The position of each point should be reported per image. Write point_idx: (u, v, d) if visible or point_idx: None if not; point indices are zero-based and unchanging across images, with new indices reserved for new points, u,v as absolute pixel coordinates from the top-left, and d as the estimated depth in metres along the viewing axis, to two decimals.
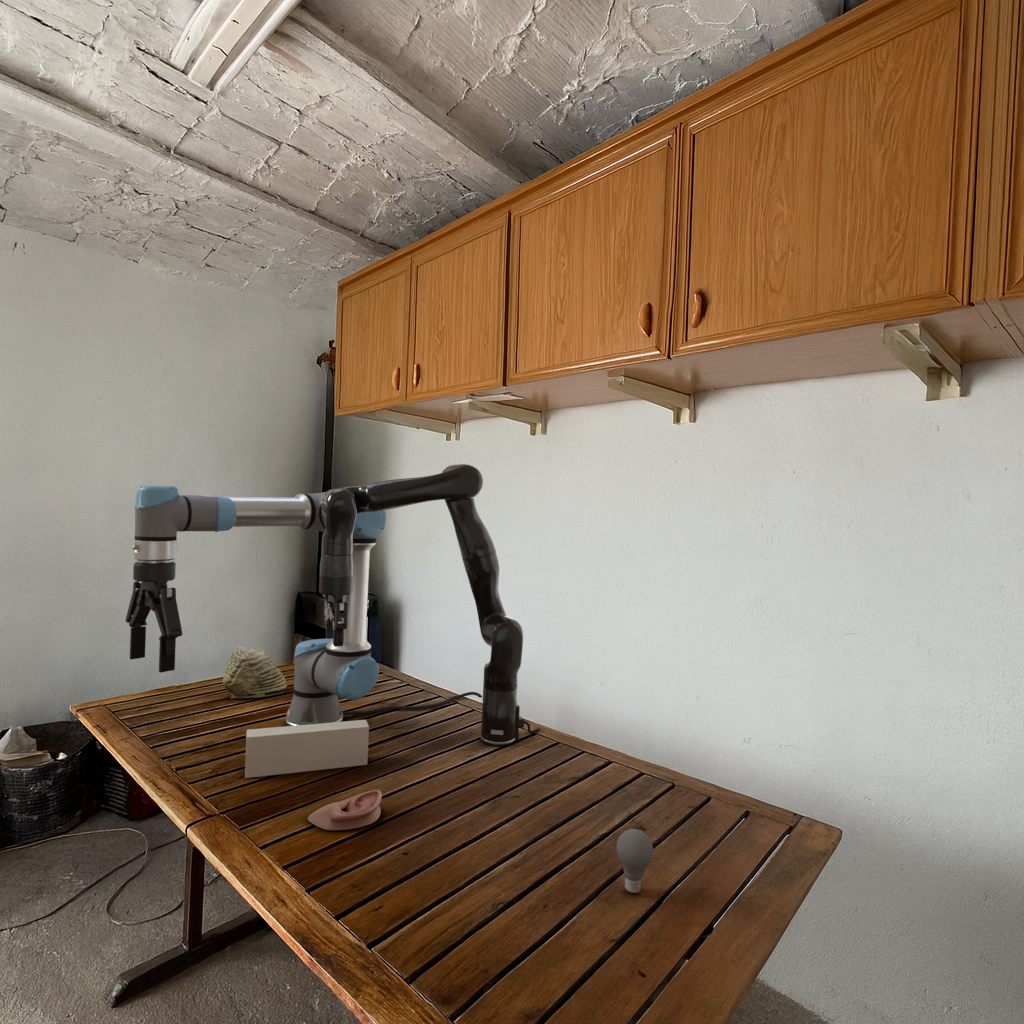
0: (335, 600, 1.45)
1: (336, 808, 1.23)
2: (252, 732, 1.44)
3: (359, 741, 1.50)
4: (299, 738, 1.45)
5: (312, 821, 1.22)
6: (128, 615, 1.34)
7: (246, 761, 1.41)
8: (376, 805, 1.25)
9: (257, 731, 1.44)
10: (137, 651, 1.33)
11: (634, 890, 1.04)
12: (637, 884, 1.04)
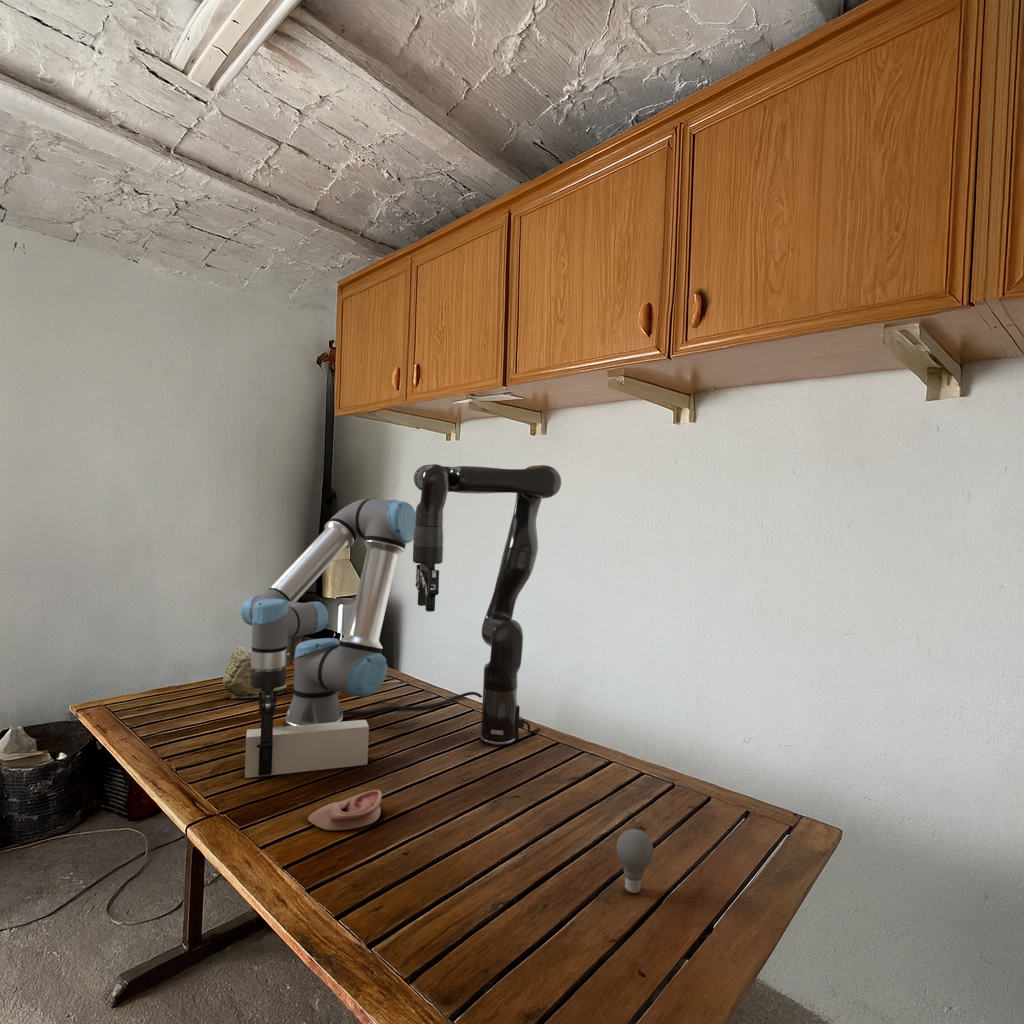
0: (427, 568, 1.55)
1: (336, 808, 1.23)
2: (252, 732, 1.44)
3: (359, 741, 1.50)
4: (299, 738, 1.45)
5: (312, 821, 1.22)
6: None
7: (246, 761, 1.41)
8: (376, 805, 1.25)
9: (257, 731, 1.44)
10: None
11: (634, 890, 1.04)
12: (637, 884, 1.04)
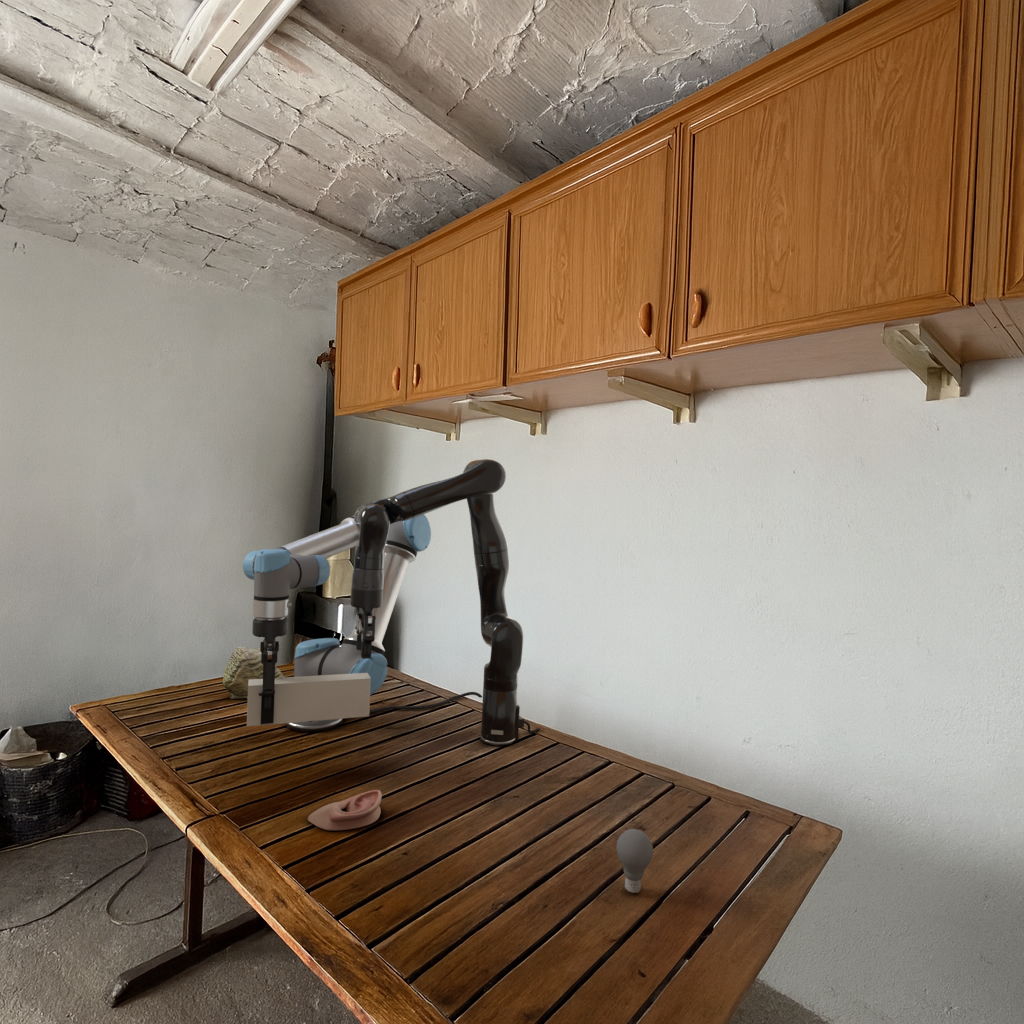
0: (364, 613, 1.48)
1: (336, 808, 1.23)
2: (254, 681, 1.44)
3: (361, 692, 1.50)
4: (301, 688, 1.45)
5: (312, 821, 1.22)
6: None
7: (248, 709, 1.41)
8: (376, 805, 1.25)
9: (259, 681, 1.44)
10: None
11: (634, 890, 1.04)
12: (637, 884, 1.04)
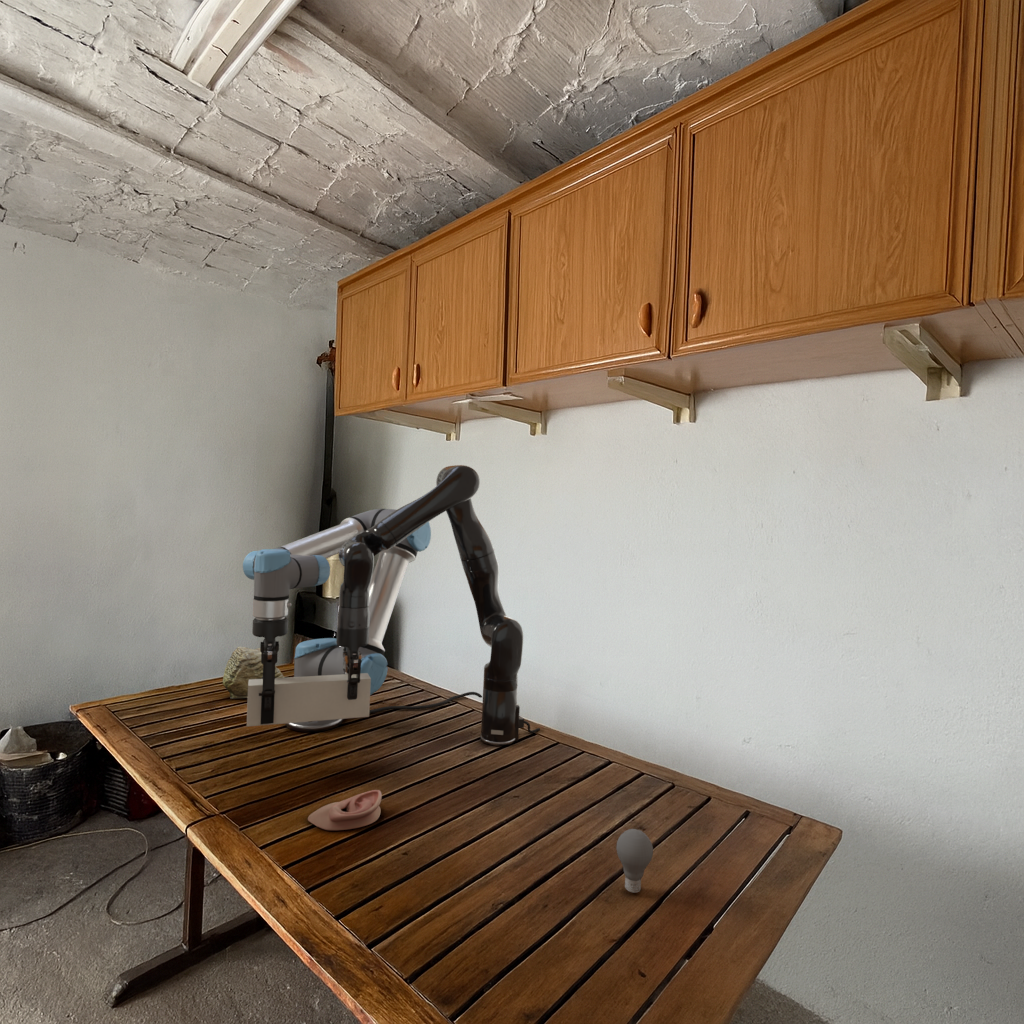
0: (350, 652, 1.47)
1: (336, 808, 1.23)
2: (254, 681, 1.44)
3: (361, 692, 1.50)
4: (301, 688, 1.45)
5: (312, 821, 1.22)
6: None
7: (248, 709, 1.41)
8: (376, 805, 1.25)
9: (259, 681, 1.44)
10: None
11: (634, 890, 1.04)
12: (637, 884, 1.04)
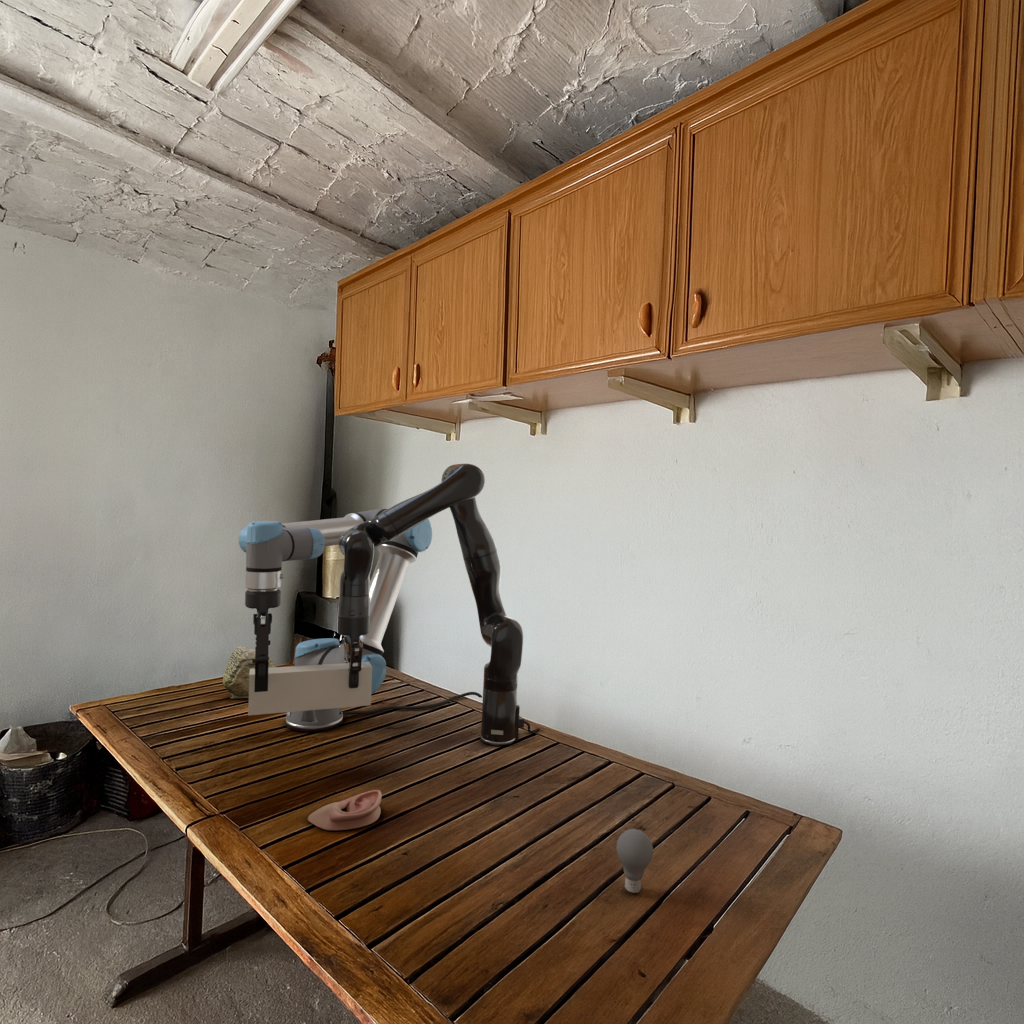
0: (351, 641, 1.47)
1: (336, 808, 1.23)
2: None
3: (363, 681, 1.50)
4: (302, 677, 1.45)
5: (312, 821, 1.22)
6: None
7: (249, 698, 1.41)
8: (376, 805, 1.25)
9: None
10: None
11: (634, 890, 1.04)
12: (637, 884, 1.04)
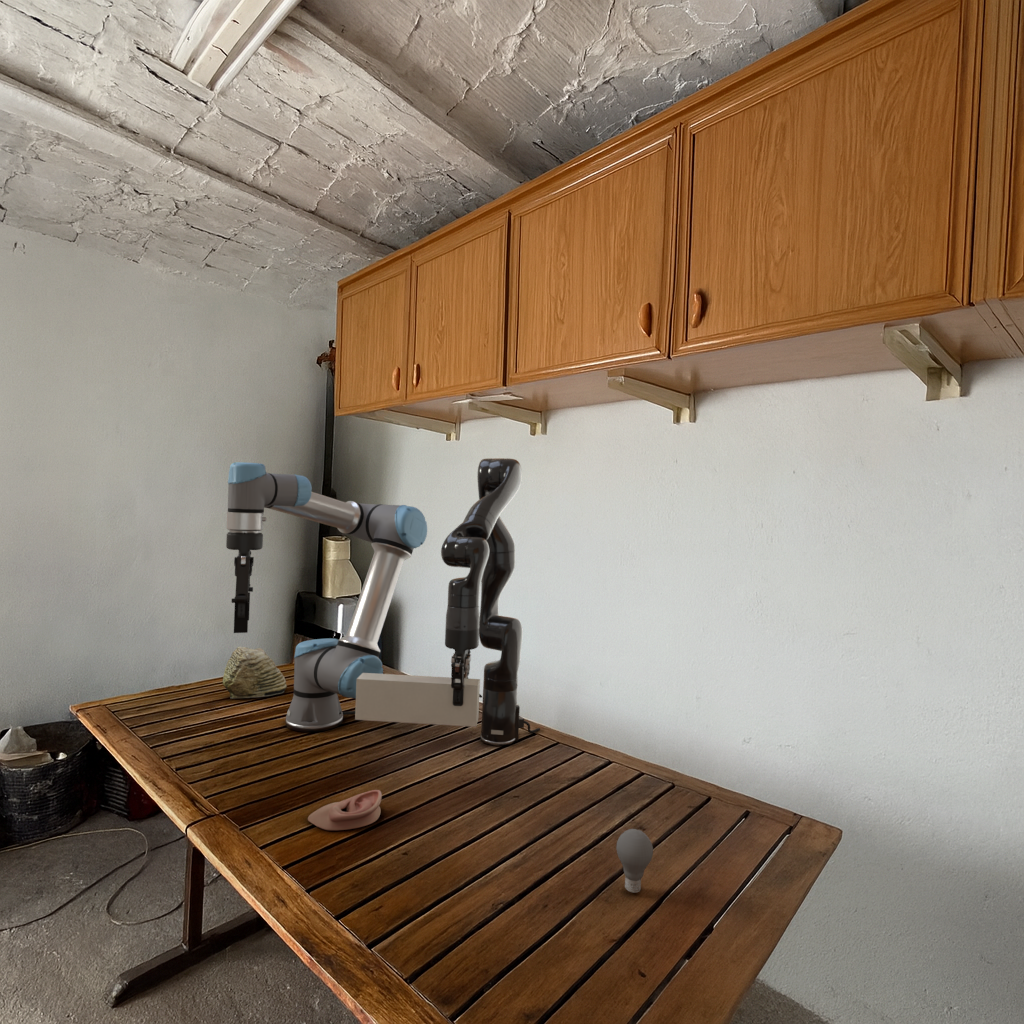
0: (455, 655, 1.37)
1: (336, 808, 1.23)
2: (365, 675, 1.42)
3: (468, 699, 1.39)
4: (406, 687, 1.39)
5: (312, 821, 1.22)
6: (248, 592, 1.34)
7: (356, 703, 1.40)
8: (376, 805, 1.25)
9: (370, 675, 1.42)
10: None
11: (634, 890, 1.04)
12: (637, 884, 1.04)
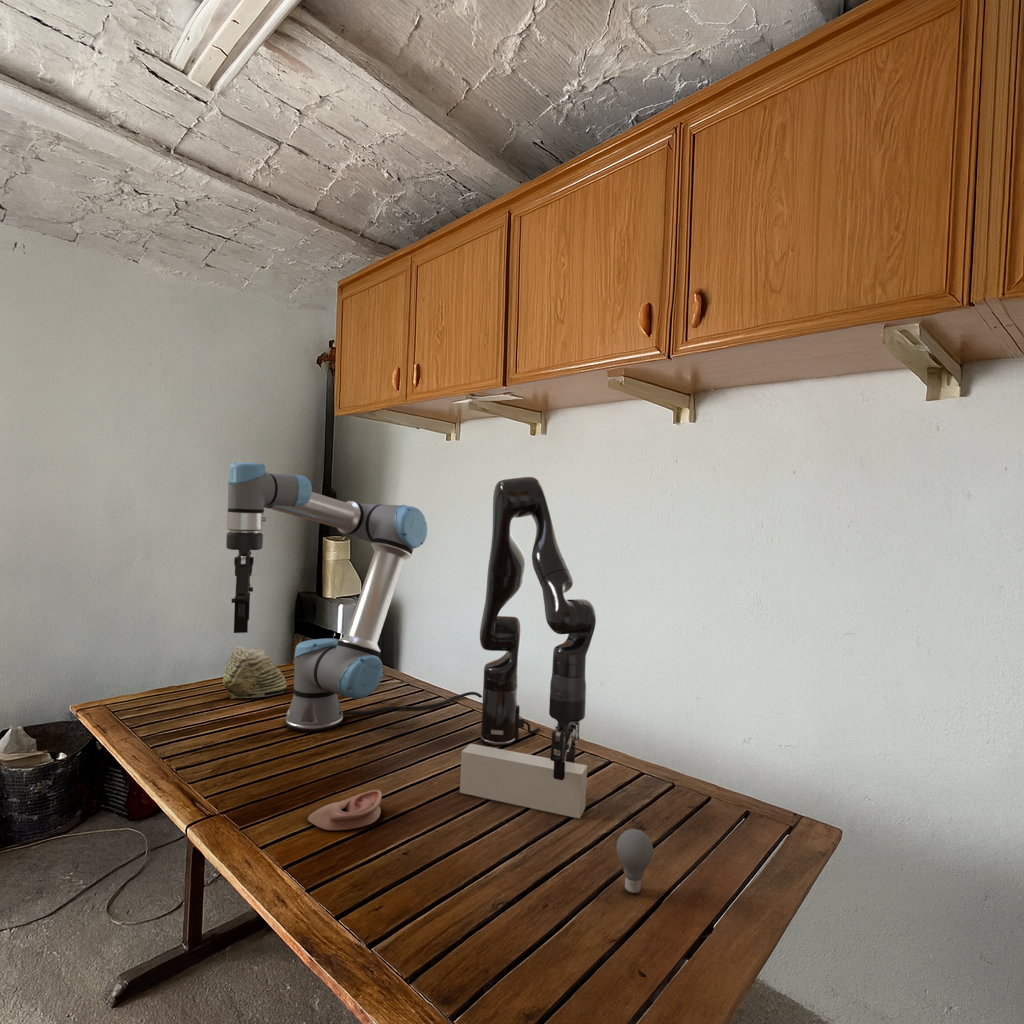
0: (558, 726, 1.29)
1: (336, 808, 1.23)
2: (471, 747, 1.40)
3: (571, 788, 1.30)
4: (509, 767, 1.34)
5: (312, 821, 1.22)
6: (248, 592, 1.34)
7: (461, 776, 1.38)
8: (376, 805, 1.25)
9: (476, 748, 1.40)
10: None
11: (634, 890, 1.04)
12: (637, 884, 1.04)
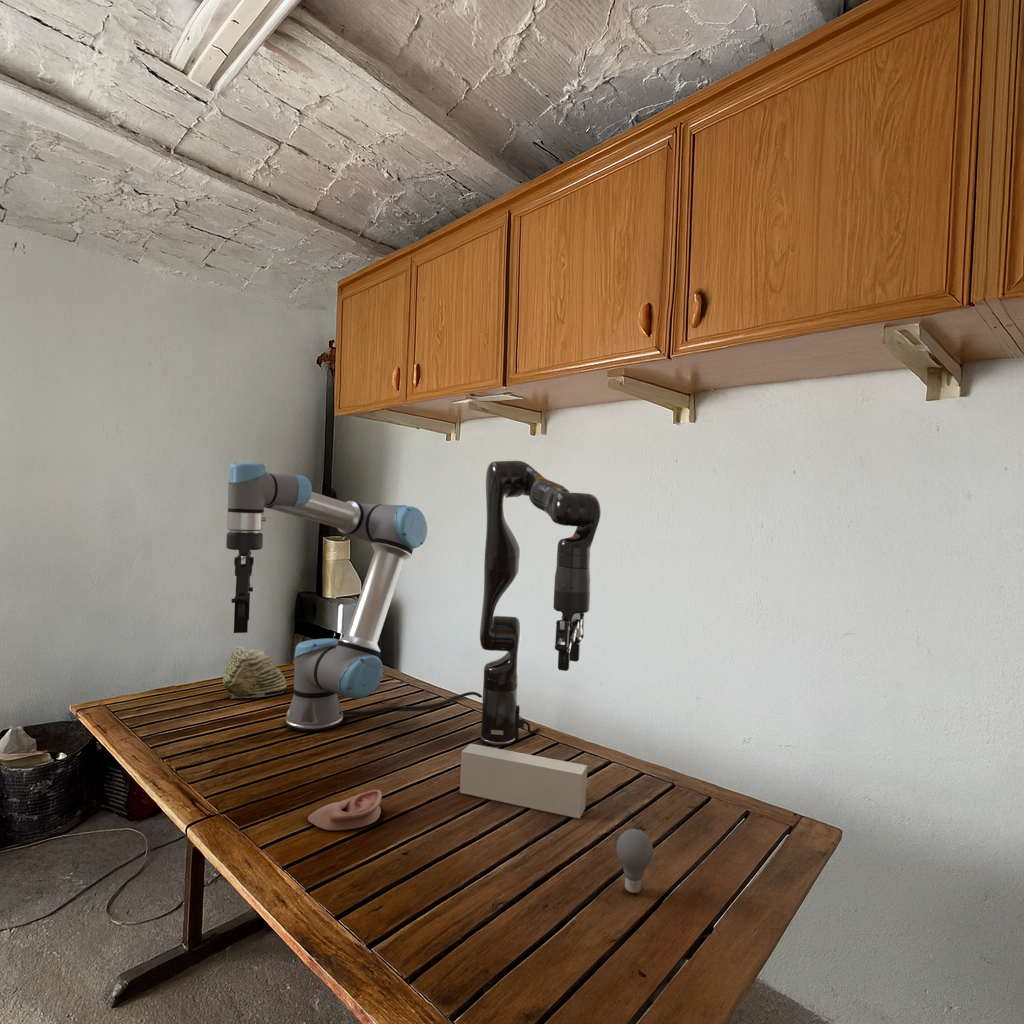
0: (562, 617, 1.29)
1: (336, 808, 1.23)
2: (471, 747, 1.40)
3: (571, 788, 1.30)
4: (509, 767, 1.34)
5: (312, 821, 1.22)
6: (248, 592, 1.34)
7: (461, 776, 1.38)
8: (376, 805, 1.25)
9: (476, 748, 1.40)
10: None
11: (634, 890, 1.04)
12: (637, 884, 1.04)
